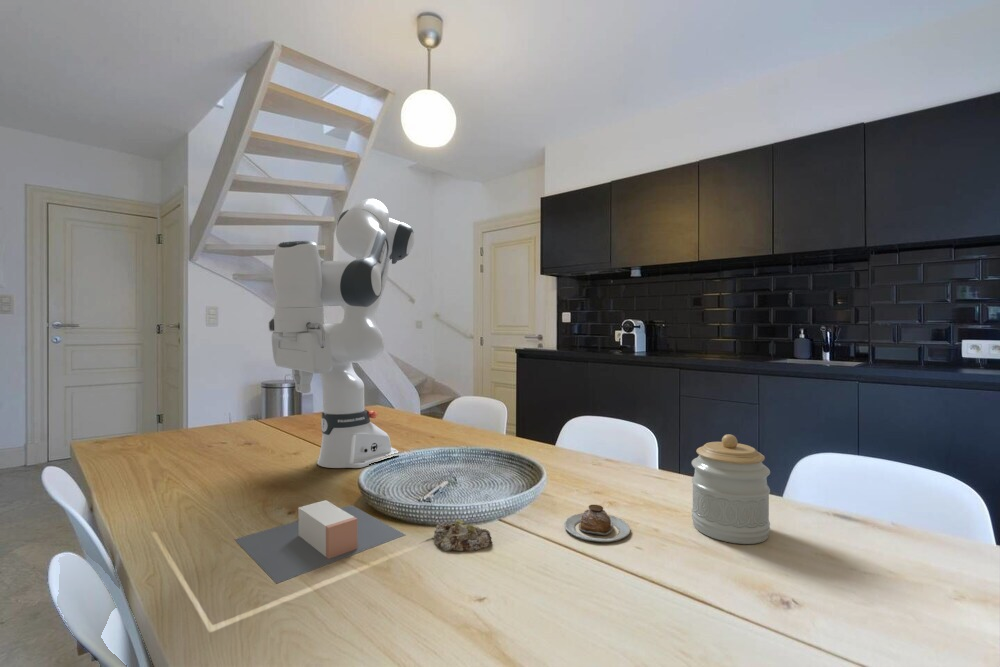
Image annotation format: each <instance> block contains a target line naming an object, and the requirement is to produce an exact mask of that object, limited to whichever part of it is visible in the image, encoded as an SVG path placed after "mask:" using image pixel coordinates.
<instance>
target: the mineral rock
mask: <svg viewBox="0 0 1000 667" xmlns="http://www.w3.org/2000/svg"><path fill="white" fill-rule="evenodd" d="M433 538H434V540H433V542H434V544H435V545H437V547H439V548H441V549H442V550H443V551H444V552H447V551H450V552H452V551H455V552H462V551H470V552H471V551H475V552H476V551H478V550H481V549H486V548H488V546H492V544H493V543H494V542H493V541H492V535H491V531H489V530H487V529H485V528H482V527H479V526H474V525H472V524H471V525H470V524H466V523H465V521H463V520H462V519H456V520H455V521H454V522H452V523H445V522H444V523H441V524H439V523H438V524H436V527H435V529H434V534H433Z"/></svg>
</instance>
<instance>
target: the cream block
mask: <svg viewBox="0 0 1000 667" xmlns="http://www.w3.org/2000/svg"><path fill="white" fill-rule="evenodd" d="M340 508H341V507H338V506H336V505H334V504H333V503H332V502H330V501H328V500H326V499H324V500H322V501H318V502H313V503H310V504H306V505H303V506H302V505H301V506H299V507H298V516H297V517H298V518H297V519H298V520H297V521H298V523H299V536H300V537H301V538H303V539H304V540H305V541H306V542H308V543H309V544H310V545H311V546H313V547H314V548H315V549H317V550H318V551H319V552H320V553H322V554H323V555H324V556H325V557H327V558H328V559H330V558H333V557H335V556H338V555H341V554H344V553H346V552H349V551H352V550H354V549H357V548H358V540H357V518H355V517H354V516H352V515H350V514H349V513H347V512H345V511H343V510H342V509H340Z"/></svg>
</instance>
